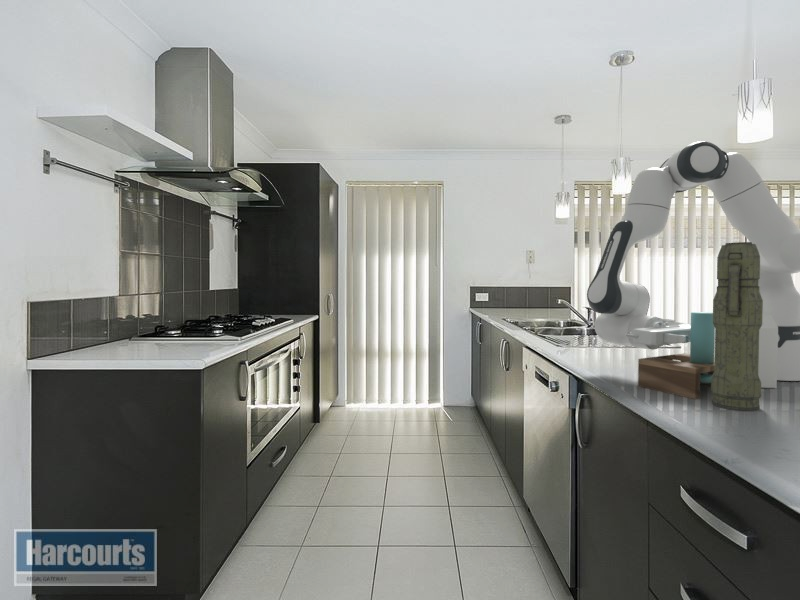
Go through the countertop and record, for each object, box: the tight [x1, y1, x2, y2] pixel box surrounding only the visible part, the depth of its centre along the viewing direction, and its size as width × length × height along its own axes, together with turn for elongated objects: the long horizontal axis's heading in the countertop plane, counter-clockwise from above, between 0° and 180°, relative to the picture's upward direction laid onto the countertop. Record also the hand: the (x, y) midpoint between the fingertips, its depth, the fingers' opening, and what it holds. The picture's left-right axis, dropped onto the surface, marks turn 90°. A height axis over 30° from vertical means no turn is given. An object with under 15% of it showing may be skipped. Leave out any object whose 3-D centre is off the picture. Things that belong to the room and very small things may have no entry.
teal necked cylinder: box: [689, 311, 715, 384], centre depth 120 cm, size 6×6×16 cm
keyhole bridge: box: [637, 352, 715, 400], centre depth 123 cm, size 18×15×7 cm
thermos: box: [710, 241, 763, 412], centre depth 106 cm, size 9×12×35 cm
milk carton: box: [758, 311, 778, 389], centre depth 125 cm, size 7×7×19 cm
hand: (699, 338), depth 121 cm, fingers open, 8 cm apart
